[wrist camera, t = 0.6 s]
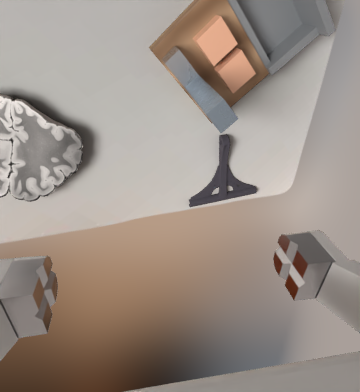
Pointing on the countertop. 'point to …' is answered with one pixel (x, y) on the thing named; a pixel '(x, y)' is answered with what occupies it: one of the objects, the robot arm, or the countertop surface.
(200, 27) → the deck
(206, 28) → the tile
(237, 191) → the bracket
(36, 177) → the brain slice
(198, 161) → the countertop surface
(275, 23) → the tray
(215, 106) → the scraper
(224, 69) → the tile
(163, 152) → the countertop surface
